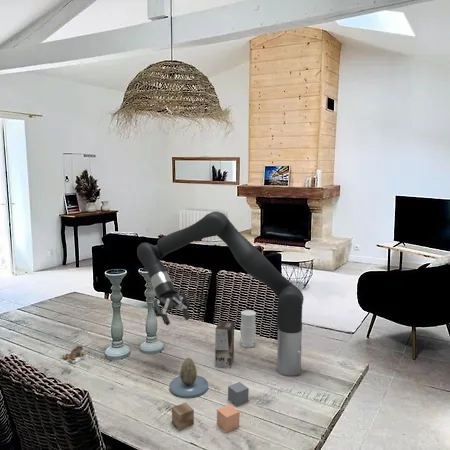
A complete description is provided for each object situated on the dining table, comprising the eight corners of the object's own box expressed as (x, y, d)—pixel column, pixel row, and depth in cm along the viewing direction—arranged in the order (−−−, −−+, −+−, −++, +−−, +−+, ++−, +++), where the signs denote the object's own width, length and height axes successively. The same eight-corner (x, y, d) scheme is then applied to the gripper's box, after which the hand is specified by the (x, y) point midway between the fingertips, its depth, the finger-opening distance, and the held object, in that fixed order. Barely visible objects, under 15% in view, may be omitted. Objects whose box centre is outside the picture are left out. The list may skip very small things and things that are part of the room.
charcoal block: (239, 395, 148) (239, 381, 147) (248, 401, 144) (248, 388, 143) (228, 399, 145) (228, 386, 144) (236, 406, 141) (236, 392, 140)
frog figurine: (71, 350, 182) (70, 342, 181) (94, 354, 178) (94, 346, 178) (52, 362, 171) (51, 353, 171) (76, 367, 167) (76, 358, 167)
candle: (237, 346, 186) (238, 314, 184) (243, 340, 193) (243, 309, 191) (252, 349, 184) (253, 316, 182) (257, 342, 190) (258, 311, 188)
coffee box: (230, 368, 167) (230, 330, 164) (214, 366, 168) (214, 328, 165) (234, 358, 175) (234, 321, 173) (219, 356, 177) (219, 320, 174)
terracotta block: (229, 418, 134) (229, 404, 134) (239, 426, 130) (239, 411, 130) (216, 424, 131) (217, 409, 131) (226, 432, 127) (226, 417, 127)
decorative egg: (190, 390, 148) (190, 363, 147) (176, 385, 151) (176, 359, 150) (199, 382, 153) (199, 357, 152) (186, 378, 156) (186, 353, 155)
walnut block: (185, 416, 135) (185, 402, 134) (193, 424, 131) (193, 409, 130) (172, 422, 132) (171, 407, 131) (179, 430, 128) (179, 415, 127)
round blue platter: (212, 380, 157) (212, 377, 157) (201, 400, 144) (201, 397, 144) (177, 375, 161) (177, 372, 161) (163, 394, 147) (163, 391, 147)
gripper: (149, 284, 160) (164, 321, 153) (181, 277, 168) (197, 312, 161) (143, 294, 165) (158, 330, 158) (175, 287, 173) (190, 322, 166)
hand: (178, 321), depth 159 cm, fingers open, 8 cm apart
